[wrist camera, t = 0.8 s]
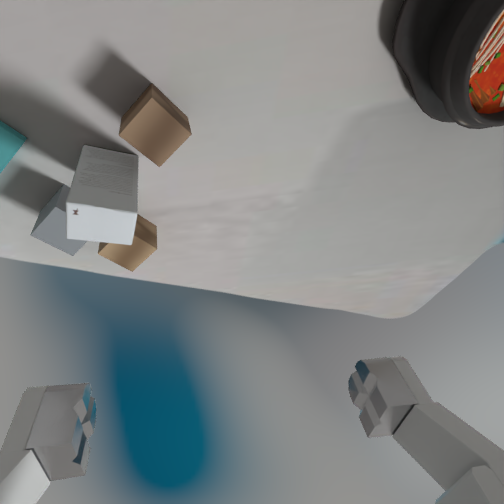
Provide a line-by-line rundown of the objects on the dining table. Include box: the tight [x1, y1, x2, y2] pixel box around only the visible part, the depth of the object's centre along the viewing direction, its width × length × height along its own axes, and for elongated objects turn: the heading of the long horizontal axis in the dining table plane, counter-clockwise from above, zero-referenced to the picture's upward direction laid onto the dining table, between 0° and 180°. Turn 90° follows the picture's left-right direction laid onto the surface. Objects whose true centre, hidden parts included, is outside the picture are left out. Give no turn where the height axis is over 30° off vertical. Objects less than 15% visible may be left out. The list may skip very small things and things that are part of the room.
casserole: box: [392, 0, 504, 129], centre depth 37 cm, size 25×19×8 cm
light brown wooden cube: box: [98, 214, 157, 271], centre depth 45 cm, size 5×5×5 cm
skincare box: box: [66, 145, 139, 245], centre depth 36 cm, size 6×4×12 cm
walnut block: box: [119, 83, 191, 167], centre depth 36 cm, size 5×5×5 cm
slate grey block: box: [31, 184, 87, 256], centre depth 41 cm, size 5×5×5 cm
